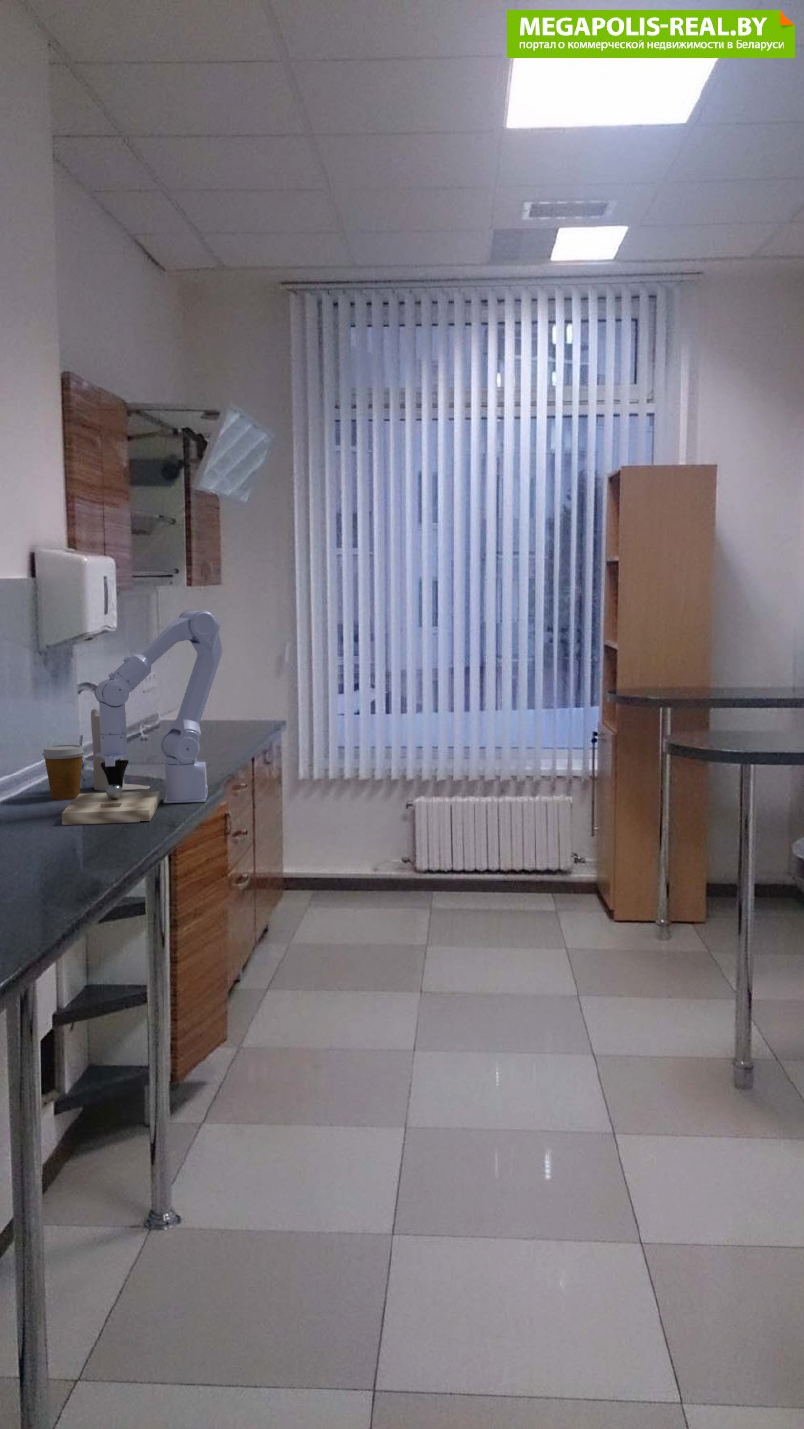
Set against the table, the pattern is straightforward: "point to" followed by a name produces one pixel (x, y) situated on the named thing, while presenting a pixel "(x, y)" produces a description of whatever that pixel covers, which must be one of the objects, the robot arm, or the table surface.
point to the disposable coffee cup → (64, 770)
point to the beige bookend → (99, 775)
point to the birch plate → (111, 808)
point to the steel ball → (114, 791)
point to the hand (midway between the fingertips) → (116, 793)
